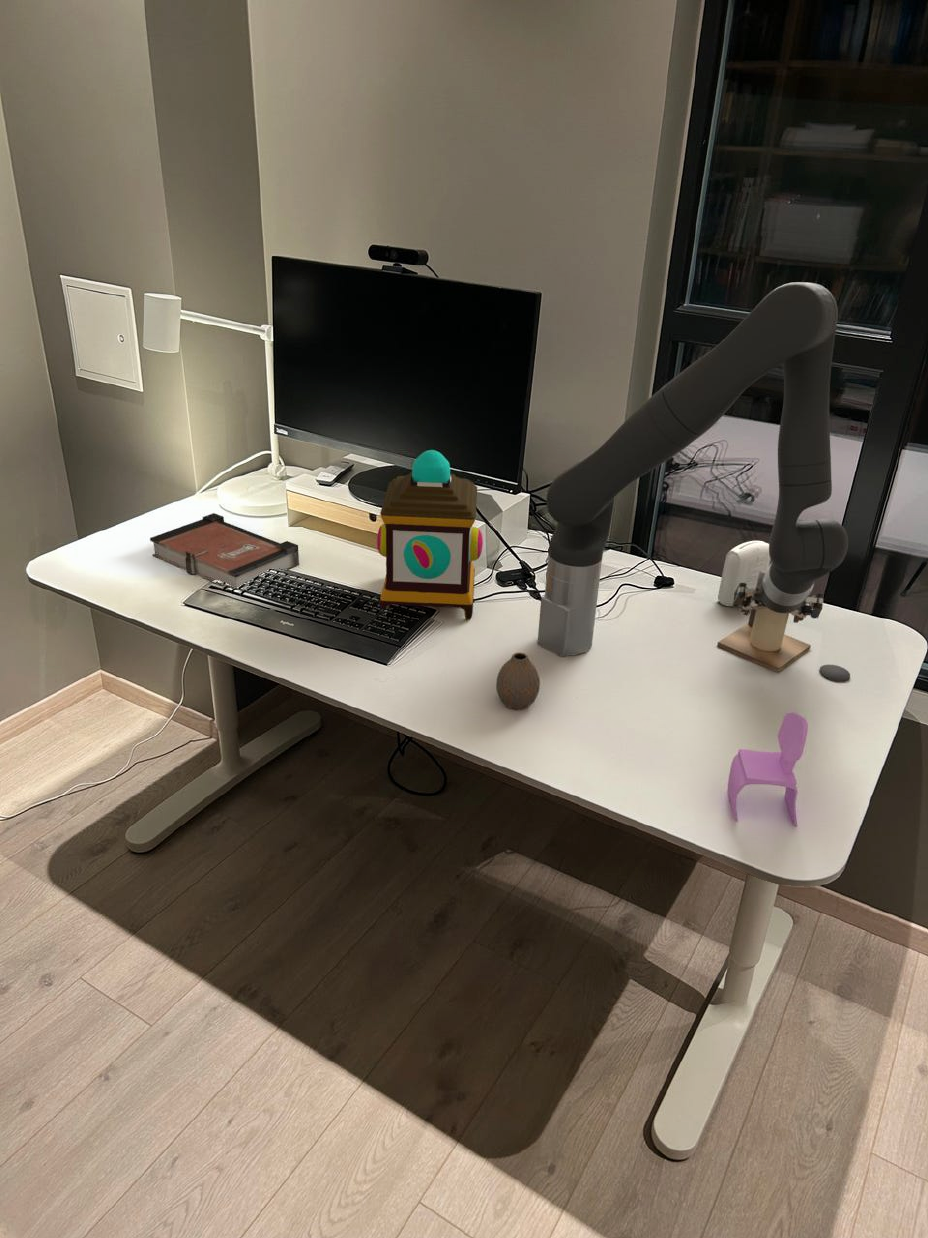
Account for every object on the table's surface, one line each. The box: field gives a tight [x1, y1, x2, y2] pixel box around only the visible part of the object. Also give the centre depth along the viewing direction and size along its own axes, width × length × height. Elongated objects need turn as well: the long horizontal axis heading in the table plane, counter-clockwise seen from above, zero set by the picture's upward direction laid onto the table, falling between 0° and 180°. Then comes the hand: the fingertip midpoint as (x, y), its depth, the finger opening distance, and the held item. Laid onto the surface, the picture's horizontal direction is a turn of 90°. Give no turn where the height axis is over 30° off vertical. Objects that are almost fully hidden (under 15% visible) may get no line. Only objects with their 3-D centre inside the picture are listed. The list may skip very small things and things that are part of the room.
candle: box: [750, 603, 790, 652], centre depth 160 cm, size 6×6×10 cm
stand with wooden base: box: [716, 570, 812, 673], centre depth 161 cm, size 16×12×14 cm
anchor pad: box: [818, 664, 851, 683], centre depth 156 cm, size 5×5×1 cm
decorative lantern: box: [376, 449, 484, 621], centre depth 168 cm, size 20×20×30 cm
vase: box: [495, 652, 541, 710], centre depth 142 cm, size 7×7×9 cm
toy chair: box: [727, 711, 809, 827], centre depth 120 cm, size 8×9×15 cm
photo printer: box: [717, 540, 771, 607], centre depth 177 cm, size 10×4×12 cm, turn 123°
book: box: [149, 512, 300, 588], centre depth 186 cm, size 26×18×5 cm
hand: (770, 613), depth 160 cm, fingers open, 8 cm apart
